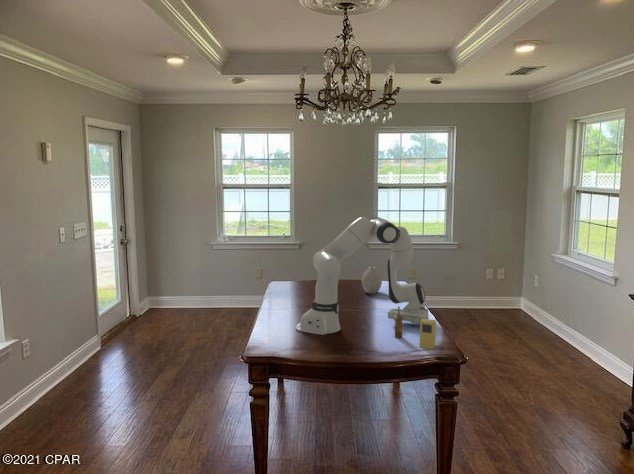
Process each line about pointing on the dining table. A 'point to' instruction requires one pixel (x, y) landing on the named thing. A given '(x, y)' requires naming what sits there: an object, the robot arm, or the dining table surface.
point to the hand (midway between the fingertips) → (404, 320)
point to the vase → (371, 280)
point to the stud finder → (427, 333)
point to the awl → (398, 325)
